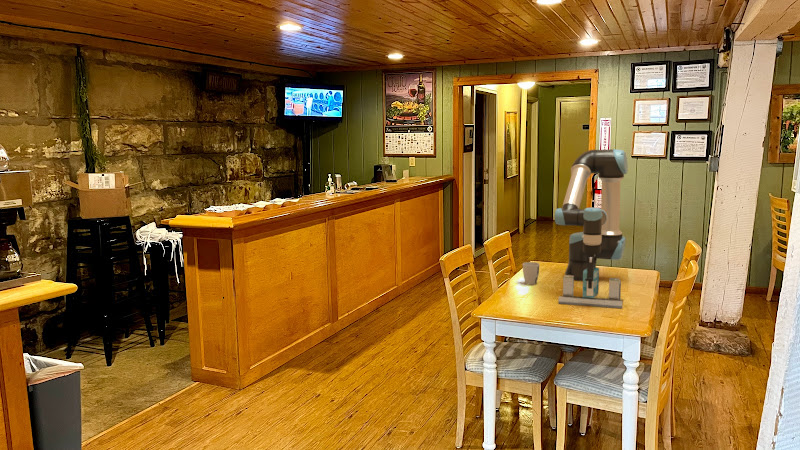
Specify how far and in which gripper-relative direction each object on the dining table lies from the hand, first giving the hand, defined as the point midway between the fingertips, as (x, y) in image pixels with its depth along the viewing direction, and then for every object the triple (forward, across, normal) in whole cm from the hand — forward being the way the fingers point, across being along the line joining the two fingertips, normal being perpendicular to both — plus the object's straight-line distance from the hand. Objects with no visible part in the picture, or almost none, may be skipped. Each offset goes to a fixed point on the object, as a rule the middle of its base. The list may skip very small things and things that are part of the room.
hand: (591, 291), depth 263 cm
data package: (+2, 0, 0) cm, 2 cm away
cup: (+5, -25, -30) cm, 39 cm away
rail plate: (+5, +2, 0) cm, 5 cm away
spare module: (+5, -7, +10) cm, 13 cm away
